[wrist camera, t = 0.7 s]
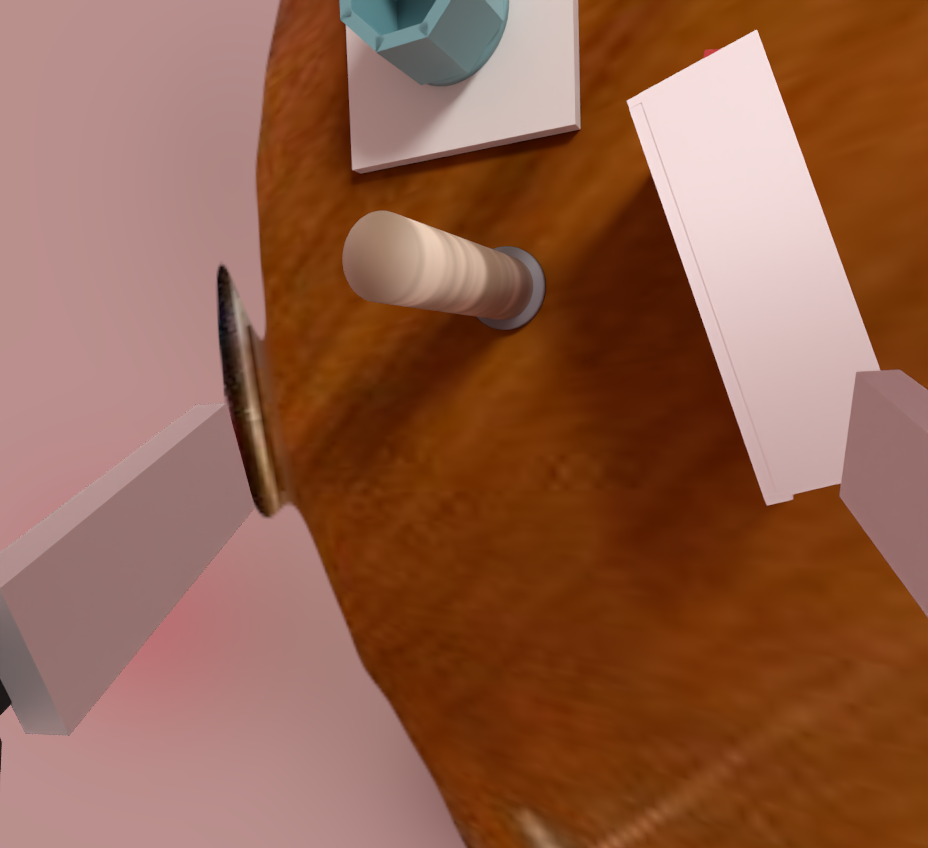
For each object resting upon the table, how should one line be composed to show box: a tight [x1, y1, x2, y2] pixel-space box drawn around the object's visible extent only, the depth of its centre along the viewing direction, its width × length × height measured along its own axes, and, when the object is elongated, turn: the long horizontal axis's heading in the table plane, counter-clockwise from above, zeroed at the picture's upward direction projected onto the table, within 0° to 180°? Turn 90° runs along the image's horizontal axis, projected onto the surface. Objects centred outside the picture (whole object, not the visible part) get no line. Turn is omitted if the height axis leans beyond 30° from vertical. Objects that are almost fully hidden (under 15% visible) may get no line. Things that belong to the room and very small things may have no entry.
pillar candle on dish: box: [343, 211, 546, 330], centre depth 36 cm, size 5×5×15 cm
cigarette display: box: [627, 30, 880, 506], centre depth 32 cm, size 20×6×9 cm, turn 20°
